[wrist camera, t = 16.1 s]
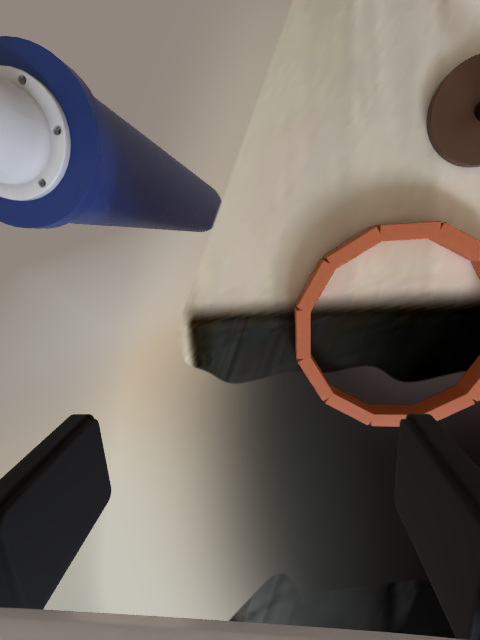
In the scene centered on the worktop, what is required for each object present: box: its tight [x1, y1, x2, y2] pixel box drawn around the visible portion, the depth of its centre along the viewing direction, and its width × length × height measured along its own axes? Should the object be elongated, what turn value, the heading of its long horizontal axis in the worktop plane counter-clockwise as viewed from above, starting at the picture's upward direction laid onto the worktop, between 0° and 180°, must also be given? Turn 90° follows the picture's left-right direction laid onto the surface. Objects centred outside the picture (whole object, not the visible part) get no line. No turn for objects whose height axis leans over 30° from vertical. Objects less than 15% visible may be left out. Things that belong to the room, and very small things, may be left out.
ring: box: [295, 221, 480, 426], centre depth 34 cm, size 22×22×2 cm
